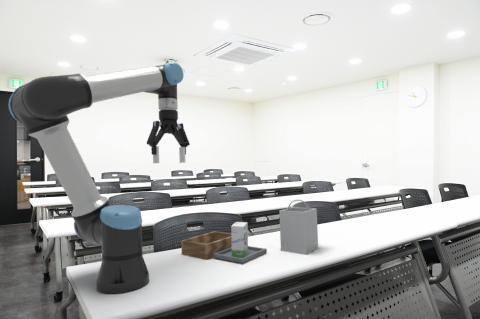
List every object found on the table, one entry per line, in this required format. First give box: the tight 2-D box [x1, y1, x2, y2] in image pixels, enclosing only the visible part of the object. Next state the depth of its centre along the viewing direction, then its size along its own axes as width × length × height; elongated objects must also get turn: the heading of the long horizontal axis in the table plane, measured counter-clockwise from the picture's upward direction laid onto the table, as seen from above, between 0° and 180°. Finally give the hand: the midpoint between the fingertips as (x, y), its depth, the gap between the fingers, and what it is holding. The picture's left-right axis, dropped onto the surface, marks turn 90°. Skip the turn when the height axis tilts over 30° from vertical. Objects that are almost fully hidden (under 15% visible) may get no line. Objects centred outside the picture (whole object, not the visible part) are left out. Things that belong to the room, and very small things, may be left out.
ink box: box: [230, 221, 249, 257], centre depth 124 cm, size 9×5×12 cm, turn 168°
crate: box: [180, 231, 232, 260], centre depth 133 cm, size 20×14×6 cm
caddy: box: [278, 206, 319, 255], centre depth 131 cm, size 11×11×16 cm
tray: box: [212, 245, 267, 265], centre depth 124 cm, size 16×14×2 cm
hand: (169, 163), depth 130 cm, fingers open, 13 cm apart
